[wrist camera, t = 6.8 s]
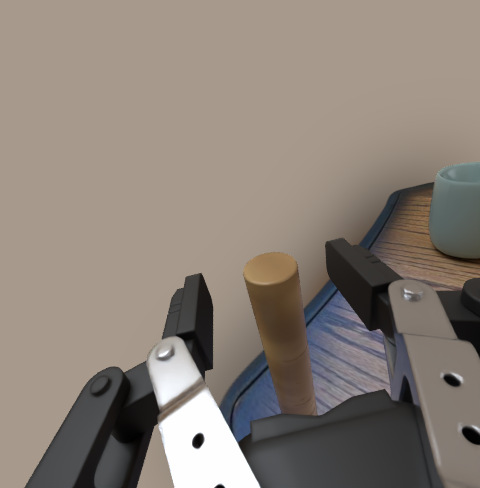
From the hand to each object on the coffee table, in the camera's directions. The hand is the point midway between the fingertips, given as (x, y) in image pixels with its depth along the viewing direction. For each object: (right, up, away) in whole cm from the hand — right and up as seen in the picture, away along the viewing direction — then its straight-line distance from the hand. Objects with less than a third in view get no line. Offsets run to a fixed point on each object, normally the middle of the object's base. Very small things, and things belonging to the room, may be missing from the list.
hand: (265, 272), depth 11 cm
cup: (+27, +1, +18) cm, 33 cm away
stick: (+3, -13, +5) cm, 14 cm away
